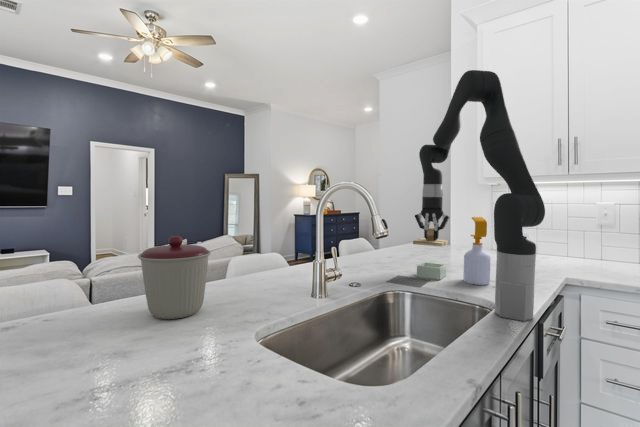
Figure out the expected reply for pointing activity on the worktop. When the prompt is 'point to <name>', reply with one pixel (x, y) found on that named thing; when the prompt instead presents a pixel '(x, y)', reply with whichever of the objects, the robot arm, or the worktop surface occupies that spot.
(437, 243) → the lid
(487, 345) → the worktop surface
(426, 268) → the pale green open box
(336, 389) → the worktop surface
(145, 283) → the canister
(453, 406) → the worktop surface
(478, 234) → the soap bottle
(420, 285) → the mat
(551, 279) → the worktop surface
